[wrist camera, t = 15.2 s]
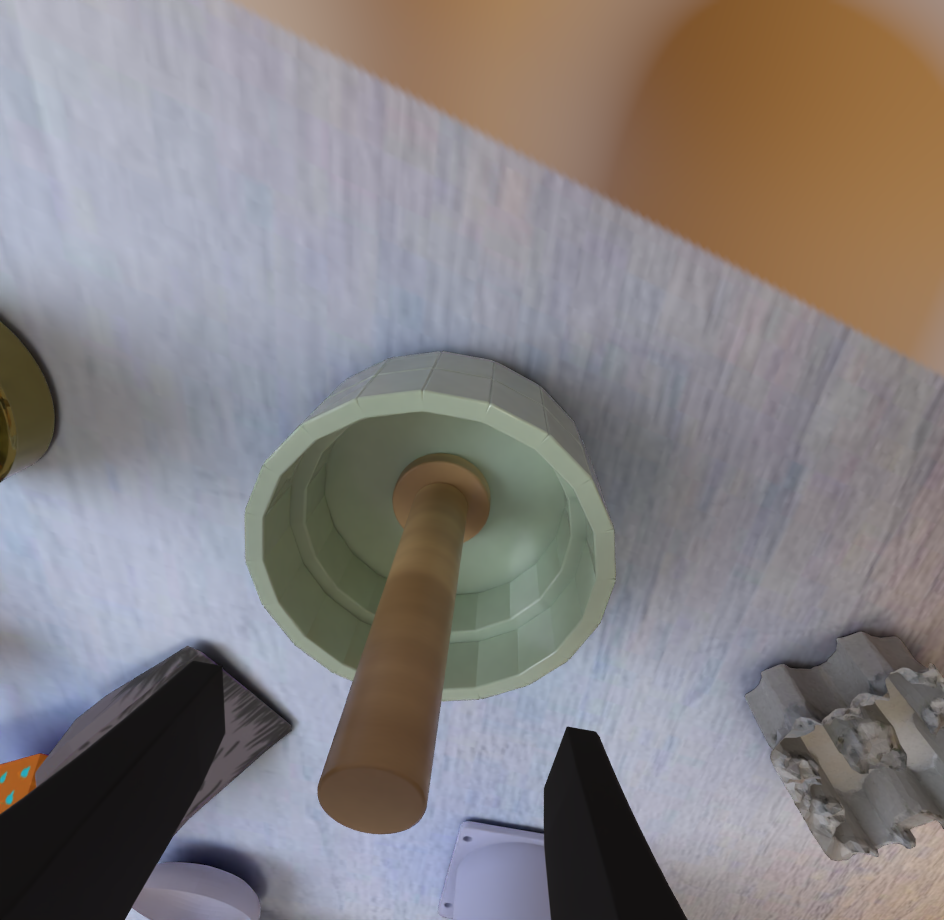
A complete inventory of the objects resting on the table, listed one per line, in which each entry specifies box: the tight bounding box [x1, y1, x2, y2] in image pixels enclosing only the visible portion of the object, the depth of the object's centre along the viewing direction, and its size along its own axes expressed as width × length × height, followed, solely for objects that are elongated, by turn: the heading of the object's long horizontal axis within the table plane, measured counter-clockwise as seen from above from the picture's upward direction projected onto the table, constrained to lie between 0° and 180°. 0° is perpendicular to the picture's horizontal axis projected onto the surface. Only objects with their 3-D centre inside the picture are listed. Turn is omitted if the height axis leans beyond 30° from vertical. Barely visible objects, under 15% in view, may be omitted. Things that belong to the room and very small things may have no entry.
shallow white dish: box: [132, 862, 261, 920], centre depth 32 cm, size 8×8×2 cm
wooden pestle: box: [318, 453, 491, 834], centre depth 14 cm, size 4×4×11 cm
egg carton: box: [745, 632, 944, 861], centre depth 22 cm, size 11×8×4 cm
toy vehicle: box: [0, 646, 292, 836], centre depth 22 cm, size 9×21×15 cm, turn 122°
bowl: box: [245, 351, 616, 701], centre depth 18 cm, size 11×11×5 cm
